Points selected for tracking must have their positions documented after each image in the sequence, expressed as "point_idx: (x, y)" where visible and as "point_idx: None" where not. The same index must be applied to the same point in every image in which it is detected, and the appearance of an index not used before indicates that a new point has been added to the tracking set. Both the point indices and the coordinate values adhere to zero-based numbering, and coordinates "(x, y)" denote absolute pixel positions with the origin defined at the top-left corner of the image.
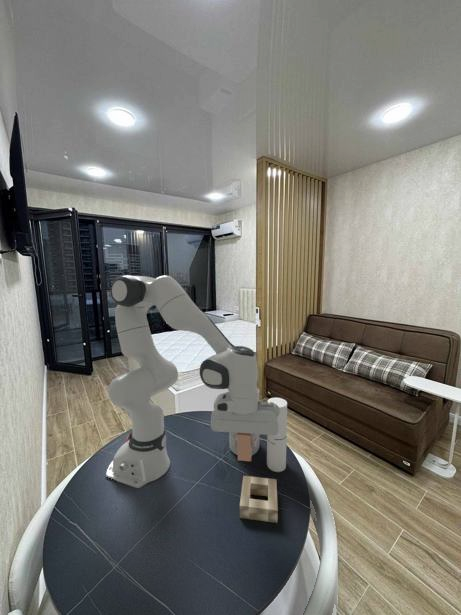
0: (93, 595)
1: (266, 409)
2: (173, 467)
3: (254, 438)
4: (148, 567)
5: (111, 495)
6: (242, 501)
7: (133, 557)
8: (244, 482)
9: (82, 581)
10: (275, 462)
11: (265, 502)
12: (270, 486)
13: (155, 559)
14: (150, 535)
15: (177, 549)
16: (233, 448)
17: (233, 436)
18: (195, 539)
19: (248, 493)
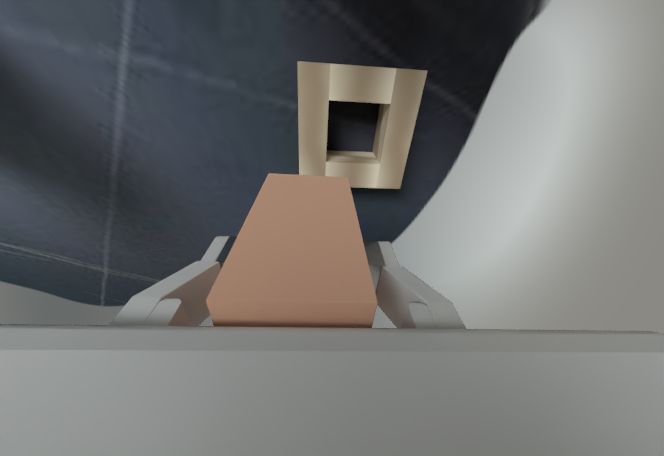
0: (112, 296)
1: None
2: None
3: (384, 284)
4: (161, 266)
5: None
6: (306, 173)
7: (123, 258)
8: (305, 99)
9: (77, 288)
10: None
11: (371, 170)
12: (397, 109)
13: (164, 256)
14: (119, 226)
15: (192, 240)
16: None
17: (200, 314)
18: (217, 223)
19: (322, 144)
